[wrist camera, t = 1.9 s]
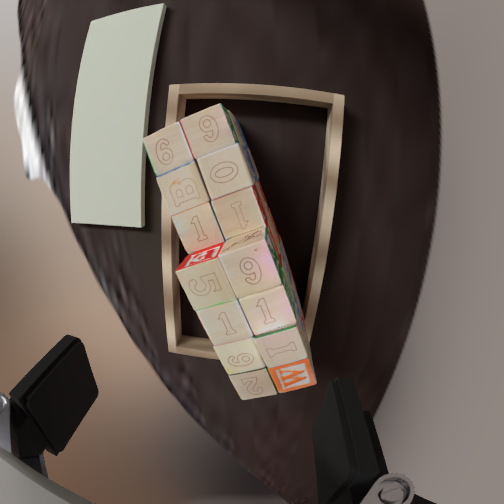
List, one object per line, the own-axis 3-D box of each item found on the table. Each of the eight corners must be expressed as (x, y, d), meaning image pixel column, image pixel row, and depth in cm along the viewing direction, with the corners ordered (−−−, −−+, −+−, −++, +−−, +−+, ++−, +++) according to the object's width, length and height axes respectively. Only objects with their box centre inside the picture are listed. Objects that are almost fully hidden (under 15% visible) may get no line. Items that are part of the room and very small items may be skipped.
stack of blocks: (180, 143, 26) (119, 134, 14) (239, 120, 25) (214, 88, 13) (251, 324, 32) (241, 403, 20) (303, 309, 31) (317, 387, 19)
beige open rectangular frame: (177, 90, 24) (169, 85, 22) (338, 100, 23) (344, 95, 21) (174, 339, 33) (168, 351, 31) (301, 354, 33) (303, 367, 30)
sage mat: (95, 23, 21) (91, 21, 20) (166, 6, 21) (163, 3, 20) (76, 220, 29) (71, 222, 28) (144, 225, 29) (141, 227, 28)
